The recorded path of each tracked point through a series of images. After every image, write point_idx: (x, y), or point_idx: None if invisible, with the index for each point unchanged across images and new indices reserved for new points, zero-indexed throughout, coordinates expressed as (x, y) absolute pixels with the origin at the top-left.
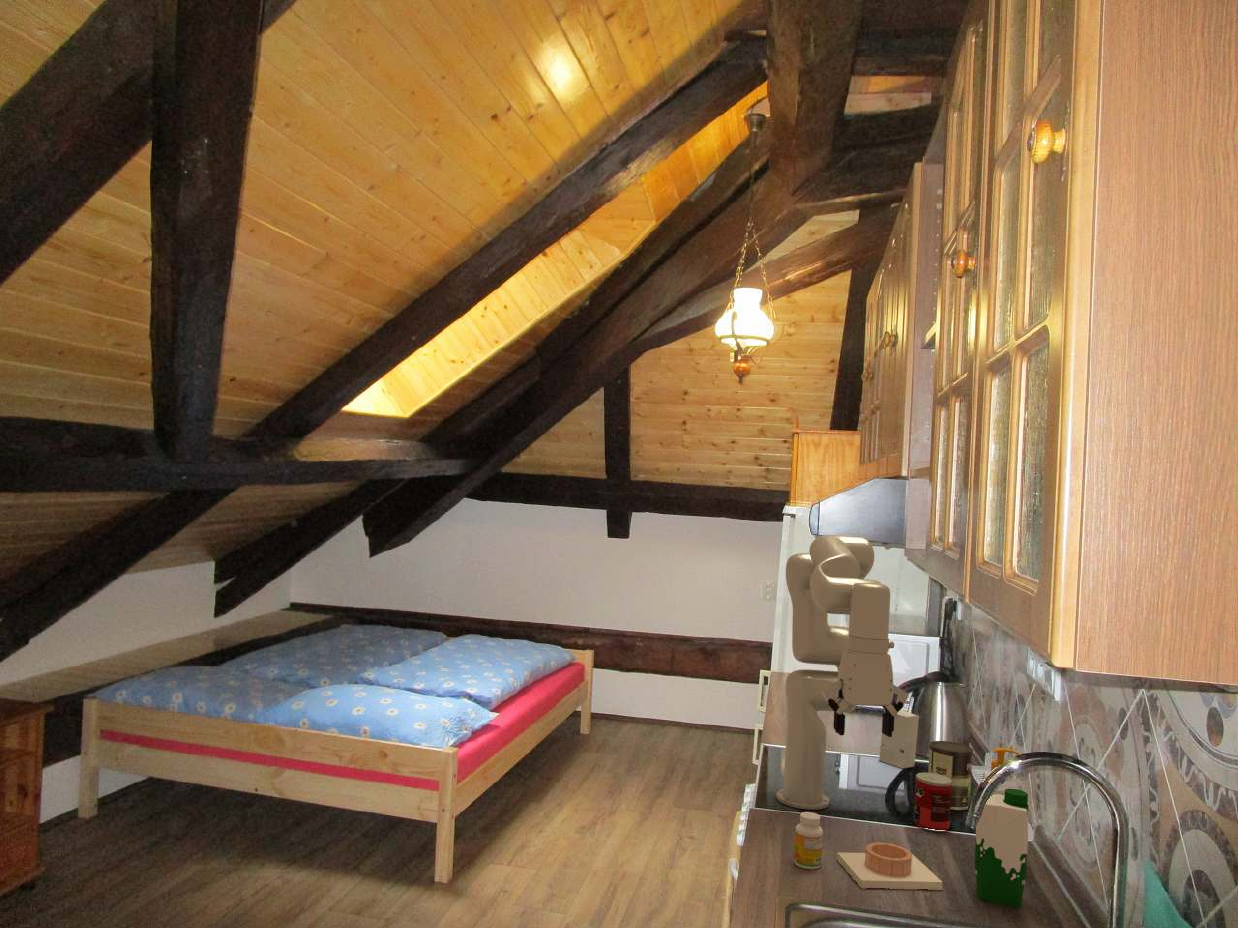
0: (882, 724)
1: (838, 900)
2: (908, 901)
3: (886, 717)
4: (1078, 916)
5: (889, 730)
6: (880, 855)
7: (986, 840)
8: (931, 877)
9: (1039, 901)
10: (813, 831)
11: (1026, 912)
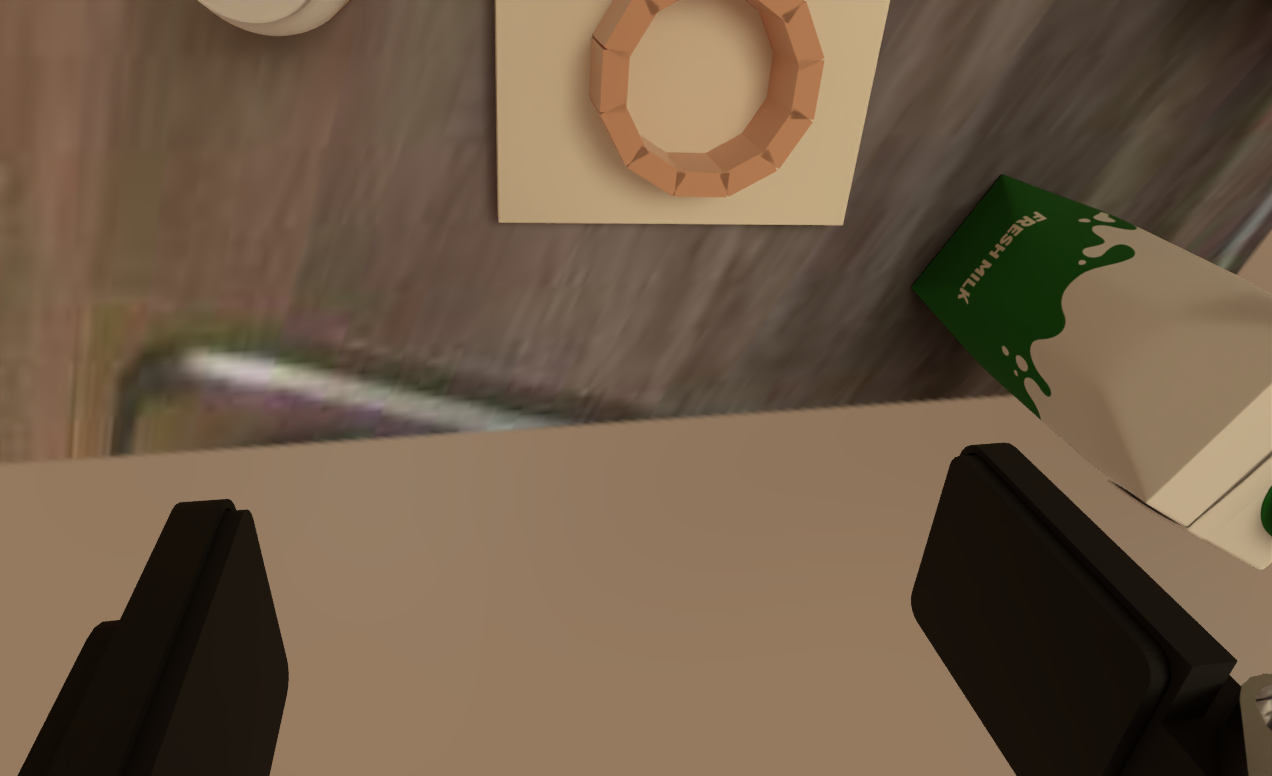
0: (1024, 530)
1: (361, 317)
2: (642, 311)
3: (1072, 754)
4: None
5: (959, 664)
6: (640, 143)
7: (1048, 407)
8: (825, 184)
9: None
10: (271, 28)
11: None
